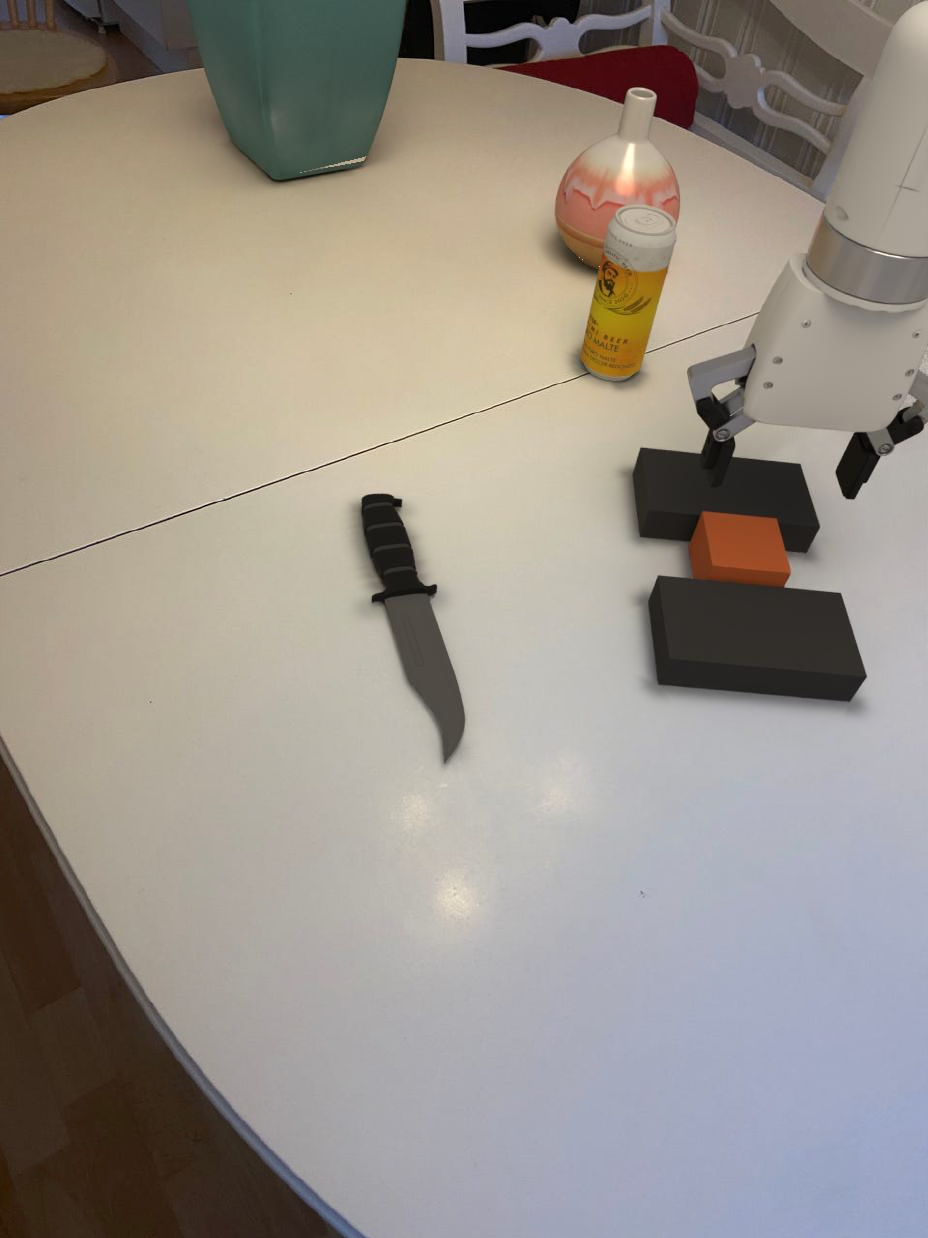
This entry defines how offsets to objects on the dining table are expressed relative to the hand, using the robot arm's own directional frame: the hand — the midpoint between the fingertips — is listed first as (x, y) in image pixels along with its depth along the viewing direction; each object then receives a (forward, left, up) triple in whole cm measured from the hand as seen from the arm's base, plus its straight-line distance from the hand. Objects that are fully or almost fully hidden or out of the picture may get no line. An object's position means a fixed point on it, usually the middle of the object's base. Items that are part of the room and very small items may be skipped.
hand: (777, 480), depth 67 cm
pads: (0, 0, -10) cm, 10 cm away
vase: (+7, -50, -10) cm, 51 cm away
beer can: (+8, -28, -10) cm, 31 cm away
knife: (+25, +8, -10) cm, 28 cm away
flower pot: (+45, -68, -10) cm, 82 cm away
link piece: (0, 0, -10) cm, 10 cm away
